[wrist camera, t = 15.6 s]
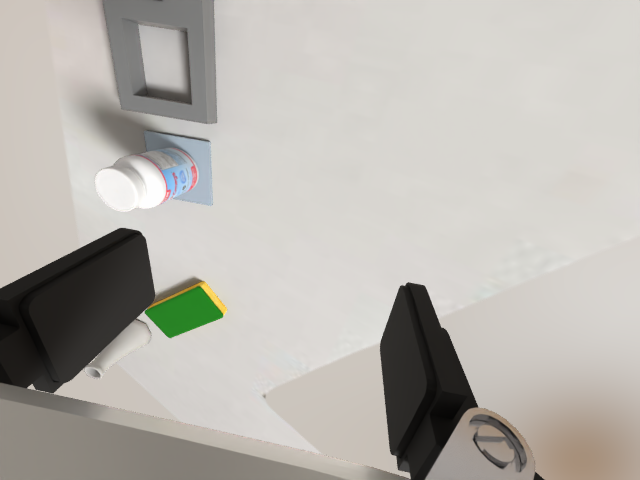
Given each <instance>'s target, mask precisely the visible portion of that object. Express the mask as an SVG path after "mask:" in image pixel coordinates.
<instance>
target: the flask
mask: <svg viewBox="0 0 640 480" xmlns="http://www.w3.org/2000/svg"><path fill="white" fill-rule="evenodd" d="M151 336H152V335H151V333H150V331H149V329H148V327H147V325H146V324H144V323H142V322H140V321H138V320H136V319H135V320H134V321H133V322H132V323H131V324H130V325H129V326H128V327H126V328H125V329H124V330H123V331H122V332H121V333H120V334H119V335H118V336H117V337H116V338H115V339H114V340H113V341H112V342H111V343H110V344H109V345H108V346H107V347H105V348H104V349H103V350H102V351H101V352H100V354H99V355H98V357H97V358H96V359H95V360H94V361H93V362H92V363H90V364H88V365H87V366H86V367H85V368H84V372H85V373H86V374H87V375H88V376H89V377H92V378H94V379H101V378H102V377H103V374H104V373H105V371H106V370H107V369H108V368H109V367H111V366H112V365H113V364H115V363H116V362H117V361H119V360H120V359H122V358H124V357H125V356H127V355H129V354H130V353H132V352H134V351H136V350H138V349H139V348H141V347H143V346H145V345H147V344H148V343H149V341H150V338H151Z"/></svg>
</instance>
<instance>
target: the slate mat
mask: <svg viewBox="0 0 640 480" xmlns="http://www.w3.org/2000/svg"><path fill="white" fill-rule="evenodd" d="M144 136H145V143H146V150H147V152H149V151H154V150H160V149H165V148H177V149H180V150H182V151H184V152H186V153H187V154H188V155H190V156H191V157H192V159H193V160H194V161H195V163H196V165H197V167H198V171H199V179H198V182H197V184H196V186H195V187H194V188H193V189H191V190H189V191H188V192H185V193H183V194H181V195H179V196H177V197H175V198H172V199H177V200H182V201H188V202H193V203H198V204H204V205H209V206H212V205H213V198H212V172H211V146H210V142H209V141H203V140H197V139H191V138H186V137H180V136H174V135H169V134H163V133H157V132H151V131H144Z"/></svg>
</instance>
